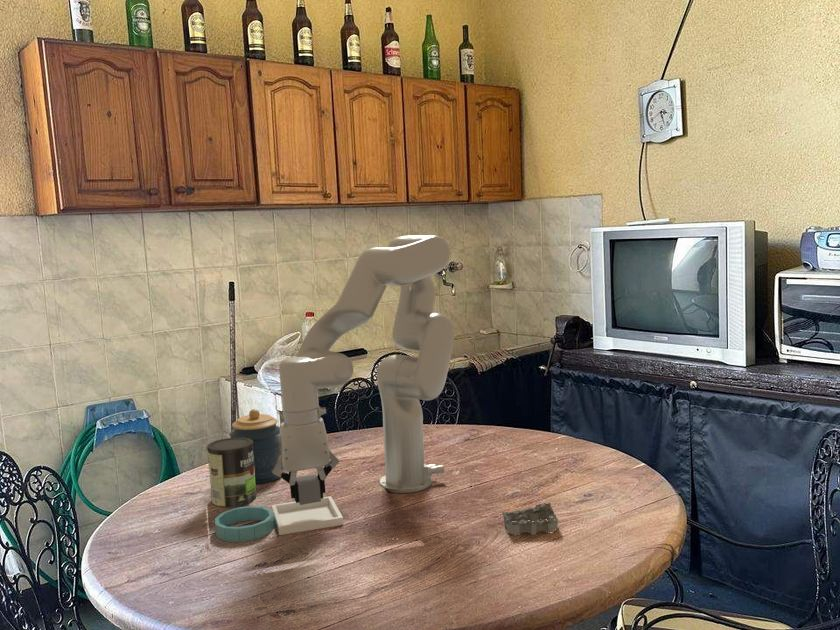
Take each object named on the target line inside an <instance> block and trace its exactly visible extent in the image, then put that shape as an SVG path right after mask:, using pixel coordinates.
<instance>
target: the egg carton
mask: <svg viewBox="0 0 840 630" xmlns="http://www.w3.org/2000/svg"><path fill="white" fill-rule="evenodd" d="M501 512H502V516H503V527H504V526H507V527H506V533H507V534H508V533H511V534H510V535H513V534H514V535H519V536H521V534H523V533H522V532H529V533H528V534H530V533H531V534H535V535H537V534H536V533H537V532H538V531H547V532H549V533H550V532H553V530H555V529H557V530H558V523H559V519H558V517H557V515H556V514H555V512H554V509H553V506H552V505H551V502H547V503H546V502H545V503H539V504H536V505H535V507H527V508H526V509H517V510H514V511H509V512H508V511H501ZM540 519H547V520H548V521H546V520H540ZM528 520H530V521H528ZM512 521H514V522H512ZM532 521H534V522H532ZM547 532H546V533H547ZM520 533H521V534H520ZM538 533H539V532H538ZM553 533H554V532H553ZM531 534H530V535H531ZM514 535H513V536H514Z"/></svg>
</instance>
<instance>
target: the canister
mask: <svg viewBox="0 0 840 630" xmlns="http://www.w3.org/2000/svg"><path fill="white" fill-rule="evenodd" d="M277 424H278V419H277V418H275V417H273V416H271V415H270V414H268V413H267V414H266V413H265V414H264V413H260V411H259V410H258V409H256V408H253V409H251V410H250V411H249V413H248V414H247V415H243V416H241V417H239V418H237V420H235V421H234V422H232V424H231V427H232V428H233V429H232V430H231V431H230V432H229V434H228V436H229V438H248V439H251V440H253V454H254V470H255V485H260V484H262V485H263V484H266V483H267V484H268V483H271V482H274V481H276V480H279V479H280V478H281V477H279V476H277V475H275V474H273V473H272V468H273V467H274V465H275V463H276V462H277V460H278V458H279V457H280V447H279V433H280V426H279V425H277ZM281 470H282V471H285V470H284V469H283V465H282V467H281Z"/></svg>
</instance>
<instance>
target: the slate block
mask: <svg viewBox="0 0 840 630" xmlns="http://www.w3.org/2000/svg"><path fill="white" fill-rule="evenodd" d="M296 483H297V485H298V495H299V504H300V505H304V504H309V503H315V502H320V501H321V495H320V483H319V480H318V478H317V474H310V475H309V474H308V475H305V476H296Z"/></svg>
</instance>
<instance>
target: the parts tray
mask: <svg viewBox="0 0 840 630" xmlns="http://www.w3.org/2000/svg"><path fill="white" fill-rule="evenodd" d="M271 510H272V513H273V518H274V522H275V525H276V528H277V531H278V535H279V536H281V535H288V534H294V533H300V532H307V531H312V530H319V529H326V528H331V527H336V526H337V527H338V526H343V525H344V517H343V515H342V513H341V512H340V509H339V508H338V506H337V504H336V503H335V500H334V499H333V497H332V496H331V495H330V496H323V499H321V501H320V502H315V503H309V504H304V505H300V504H299V503H296V502H295V501H289V502H282V503H276V504H271Z"/></svg>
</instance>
